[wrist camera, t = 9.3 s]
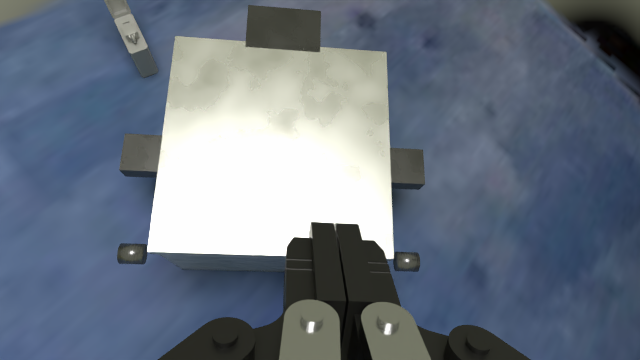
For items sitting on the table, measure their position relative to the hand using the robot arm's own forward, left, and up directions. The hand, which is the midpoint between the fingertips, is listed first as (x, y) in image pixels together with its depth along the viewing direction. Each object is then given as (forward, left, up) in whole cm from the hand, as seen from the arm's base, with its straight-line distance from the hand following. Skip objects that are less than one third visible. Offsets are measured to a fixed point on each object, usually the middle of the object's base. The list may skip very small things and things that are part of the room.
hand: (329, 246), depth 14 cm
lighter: (-13, -26, -28) cm, 41 cm away
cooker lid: (-10, -8, -19) cm, 23 cm away
